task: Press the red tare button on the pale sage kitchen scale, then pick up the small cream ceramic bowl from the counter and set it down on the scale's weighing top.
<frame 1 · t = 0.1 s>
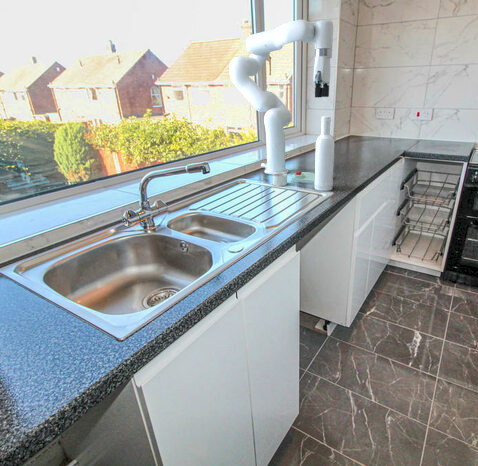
hand: (321, 97, 149), 37 cm above the worktop, tool pointing down, fingers open, 9 cm apart
tare button: (298, 173, 156), point 3 cm above the worktop, slide at 0.2 cm
bottle: (323, 189, 144), on the worktop
scale: (313, 179, 159), on the worktop
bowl: (280, 184, 151), on the worktop
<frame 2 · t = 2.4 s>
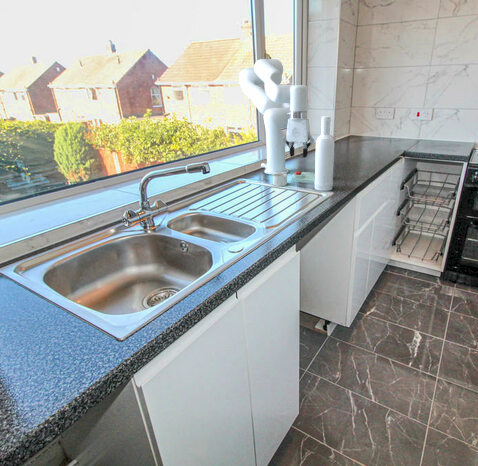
hand: (298, 156, 153), 12 cm above the worktop, tool pointing down, fingers open, 5 cm apart
nothing on the worktop moved.
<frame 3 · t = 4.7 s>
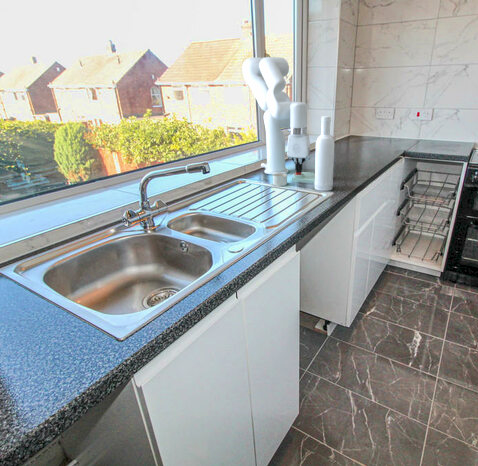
hand: (298, 171, 156), 4 cm above the worktop, tool pointing down, fingers closed
tare button: (298, 173, 156), point 3 cm above the worktop, slide at 0.1 cm, touching gripper
everything else where it was.
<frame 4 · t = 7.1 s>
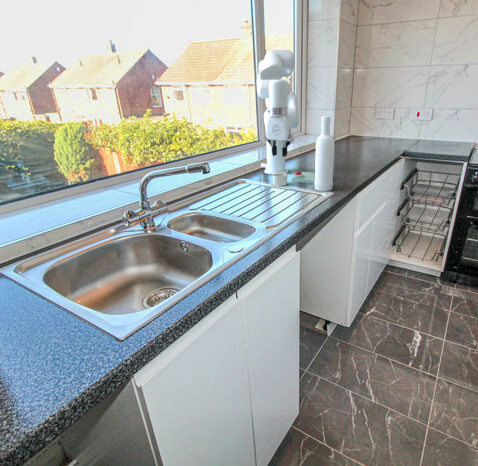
hand: (279, 155, 146), 13 cm above the worktop, tool pointing down, fingers open, 4 cm apart
tare button: (298, 173, 156), point 3 cm above the worktop, slide at 0.1 cm
everything else where it was.
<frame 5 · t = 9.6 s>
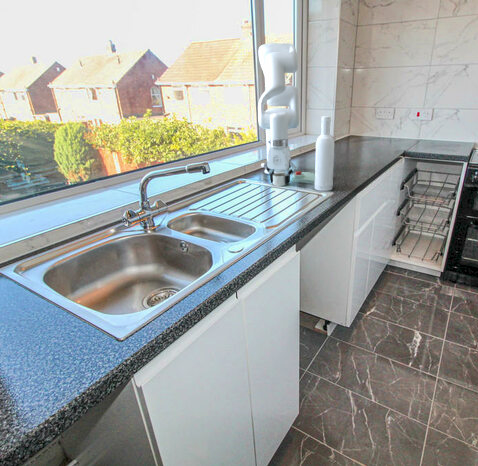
hand: (280, 182, 151), 1 cm above the worktop, tool pointing down, fingers closed on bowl, 6 cm apart
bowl: (280, 184, 151), on the worktop, touching gripper
everything else where it was.
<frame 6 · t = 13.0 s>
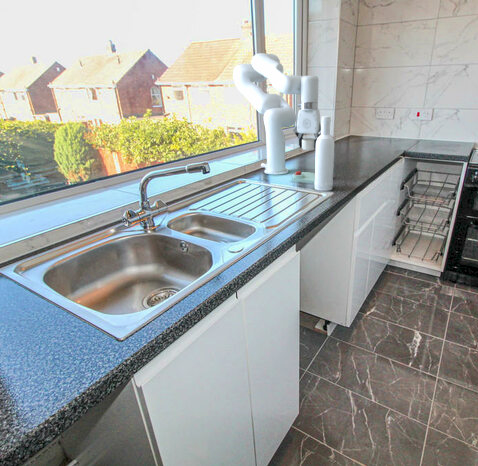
hand: (308, 147, 153), 15 cm above the worktop, tool pointing down, fingers closed on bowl, 6 cm apart
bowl: (308, 149, 153), point 14 cm above the worktop, touching gripper
everything else where it was.
when the fingers open (2 cm above the worktop, at t = 16.7 s): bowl stays where it is, resting on scale.
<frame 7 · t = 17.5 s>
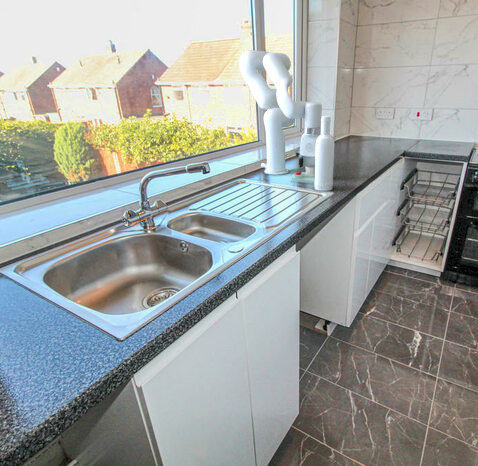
hand: (310, 168, 158), 5 cm above the worktop, tool pointing down, fingers open, 9 cm apart
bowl: (312, 175, 159), point 2 cm above the worktop, touching scale
everything else where it was.
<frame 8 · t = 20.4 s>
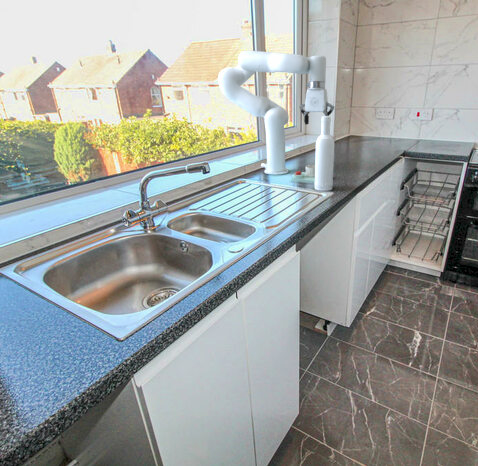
hand: (316, 124, 159), 24 cm above the worktop, tool pointing down, fingers open, 9 cm apart
nothing on the worktop moved.
at the end: tare button pushed in 0.6 cm at the most during the clip, back to where it started at the end; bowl inside the target area on the scale (1.0 cm from its centre), point 1.6 cm above the scale's base; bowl touching scale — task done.
